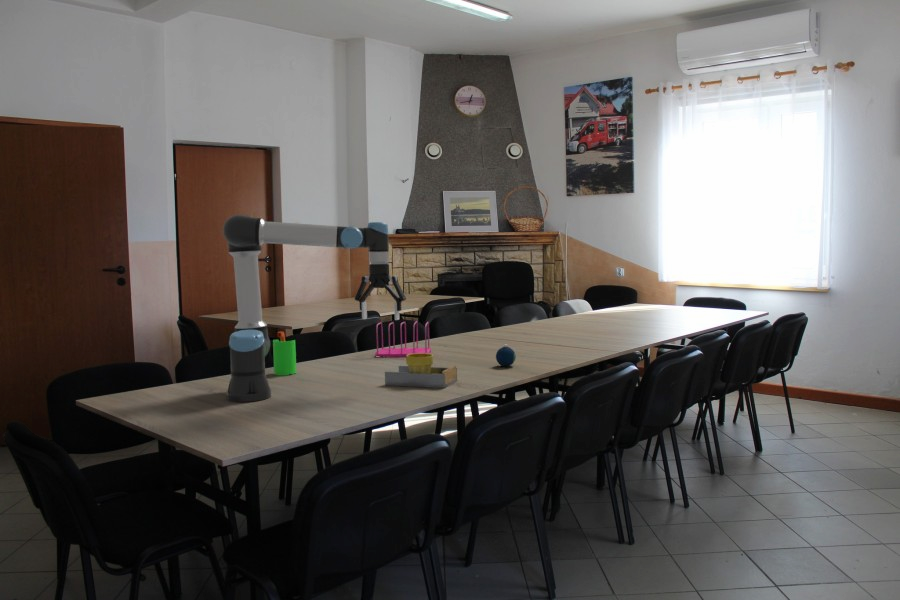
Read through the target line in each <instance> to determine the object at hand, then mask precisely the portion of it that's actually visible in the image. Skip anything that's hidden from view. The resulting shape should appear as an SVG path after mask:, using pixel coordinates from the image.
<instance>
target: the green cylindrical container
mask: <svg viewBox="0 0 900 600" xmlns="http://www.w3.org/2000/svg"><path fill="white" fill-rule="evenodd" d="M285 336H286V335H285V332H284V331H278V332H277V337H278V338H280V340H279V339H273V340H272V348H273V349H272V350H273V351H272V352H273V353H272V354H273V375H274V374H277V375H276V376H290V375H289V374H293V375H295V374H294V373H296V374H297V358H296V357H297V351H296V339H294V340H293V339H292V340H287V341H286V337H285Z"/></svg>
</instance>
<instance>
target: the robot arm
mask: <svg viewBox="0 0 900 600" xmlns="http://www.w3.org/2000/svg"><path fill="white" fill-rule="evenodd" d="M222 227H223V228H222V233H223V237H224V239H225V241H227V248H228V249H227V250H228V254H230V256H231V257H232V258H233V269H234V281H235V293H236V294H235V295H236V306H237V319H238V322H237V323H236V325H235V326H234V332H232V333H231V334H230V336H229V340H228V346H229V358H230V360H229V361H230V380H229V384H228V387H227V391H226V400H227V401H230V402H234V403H236V402H239V403H246V402H255V401H256V402H257V401H263V400H266V399H269V398H271V397H272V389H271V387H270V383H269V380H268V379H267V376H266V366H265V365H266V361H265V358H266V356H267V355H268V353H269V351H270V348H271V340H270V337H269V332H268V323H267V322H265V321H264V319H263V309H262V298H261V297H262V296H261V284H260V283H261V282H260V269H259V255H260V254H261V252H262V246H263V245H264V244H272V245H273V244H275V245H291V246H307V247H308V246H309V247H310V246H311V247H324V248H325V247H327V248H338V249H345V250H347V249H350V250H351V249H363V248H364V249H366V248H367V249H368V262H369V263H370V264H369V265H368V271H369V272H368V273H369V276H367V275H364V276H361V283H360V285H359V287H358V289H357V293H356V294H355V296H354V300H355V301H357V302H359V311H361V319H362V320H368V311H367V309H368V307H367V301H366V300H367V298H368V297H369V295H370V294H371V293H372V291H373V290H374V289H385V290H386V291H387V292H388V293H389V295H390V296H391V297H392V298H393V300H395V302H394V304H393V305H394V306H393V307H394V321H398V320H400V318H401V317H400V311H402V302H404V301H406V300H407V298H406V296H405V293H404V291H403V289H402V287H401V285H400V283H399V281H398V276H397V275H392V276H390V264H389V262H390V253H389V248H390V247H389V246H390V245H389V244H390V243H389V226H388V223H386V222H385V221H374V222H372V221H371V222H368V224H367V227H356V226H338V225H337V226H336V225H325V224H324V225H322V224H310V223H309V224H308V223H307V224H306V223H294V222H293V223H292V222H280V221H279V222H278V221H266V220H265V219H264V218H262V217H253V216H250V215H247V214H246V215H245V214H240V213H239V214H234V215H231V216H230V217H228V218H227V219H226V220H225V222H224V224H223V226H222ZM368 282H369V283H370V284H369V285H368V287H367V288H366V286H367V284H368ZM390 282H391V283H392V285H393V287H394V289H393V287H392V285H391V284H390Z"/></svg>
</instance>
